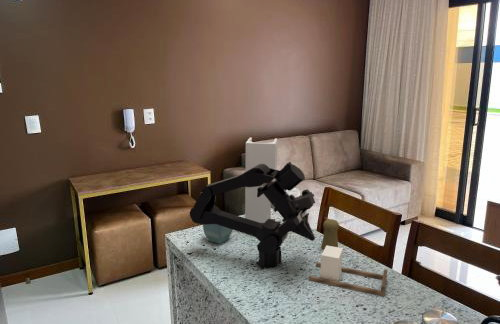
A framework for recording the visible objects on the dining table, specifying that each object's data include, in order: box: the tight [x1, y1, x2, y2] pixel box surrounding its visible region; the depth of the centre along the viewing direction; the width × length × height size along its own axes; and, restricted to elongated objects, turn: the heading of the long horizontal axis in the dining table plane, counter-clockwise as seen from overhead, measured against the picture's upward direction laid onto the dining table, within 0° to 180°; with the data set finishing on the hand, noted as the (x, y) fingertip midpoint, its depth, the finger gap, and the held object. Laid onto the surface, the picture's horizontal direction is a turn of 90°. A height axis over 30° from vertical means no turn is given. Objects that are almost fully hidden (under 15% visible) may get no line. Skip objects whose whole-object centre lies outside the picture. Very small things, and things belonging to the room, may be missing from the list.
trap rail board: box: [308, 261, 388, 297], centre depth 115 cm, size 21×16×4 cm
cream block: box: [319, 245, 344, 281], centre depth 116 cm, size 5×7×8 cm
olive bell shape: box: [320, 218, 340, 251], centre depth 134 cm, size 6×6×11 cm
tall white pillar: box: [244, 137, 278, 223], centre depth 149 cm, size 11×11×35 cm
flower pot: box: [202, 224, 234, 245], centre depth 142 cm, size 9×9×9 cm
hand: (313, 239), depth 117 cm, fingers closed
